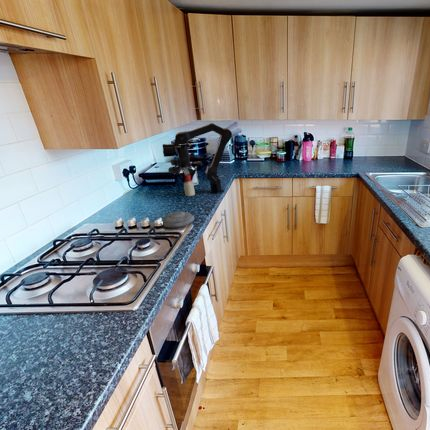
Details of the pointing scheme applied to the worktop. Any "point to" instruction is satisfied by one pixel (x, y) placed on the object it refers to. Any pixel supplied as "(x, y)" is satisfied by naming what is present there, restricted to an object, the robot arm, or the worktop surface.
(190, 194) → the bottle
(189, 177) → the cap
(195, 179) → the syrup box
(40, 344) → the worktop surface
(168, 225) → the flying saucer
